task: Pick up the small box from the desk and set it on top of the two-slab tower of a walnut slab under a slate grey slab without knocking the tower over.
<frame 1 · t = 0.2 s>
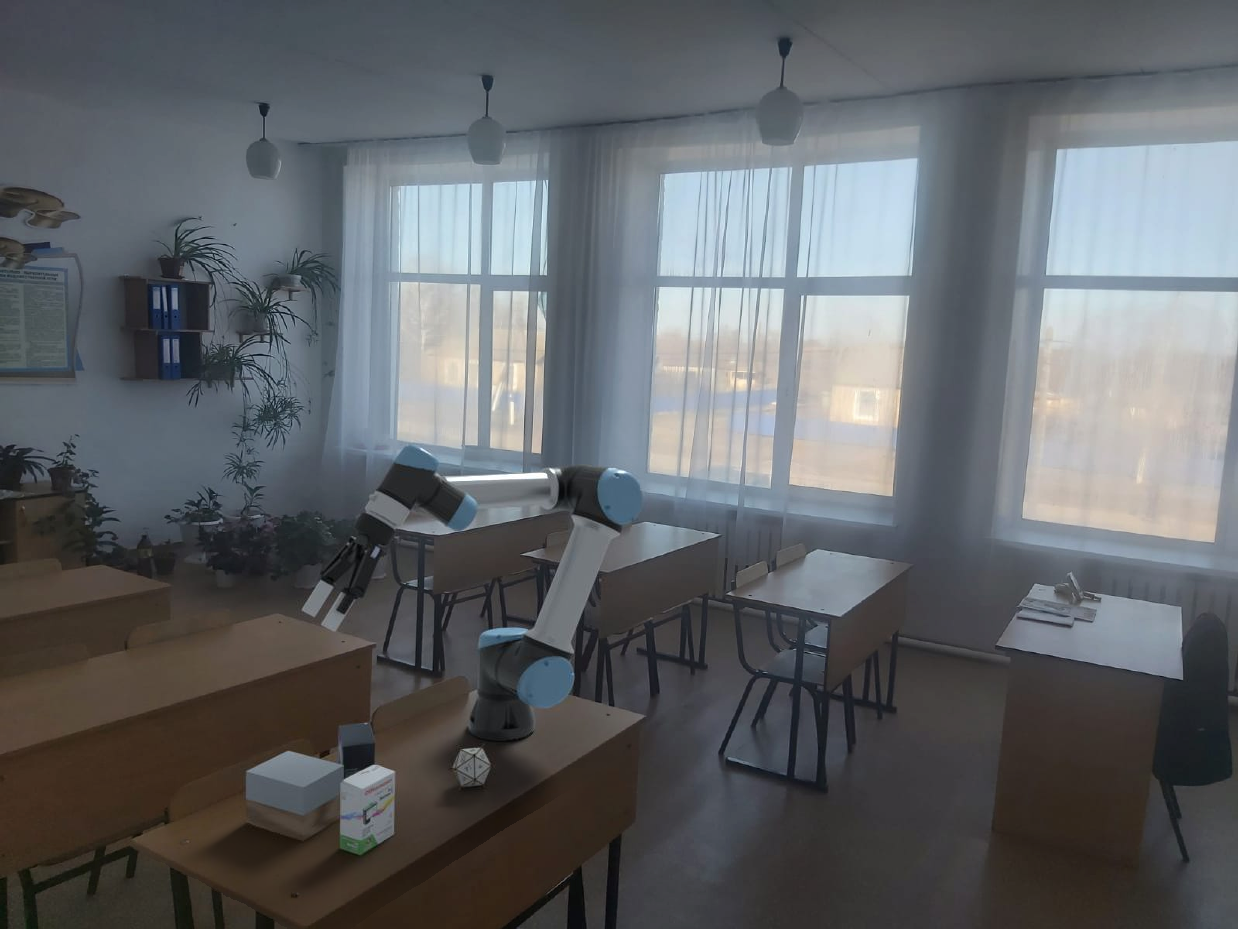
hand: (317, 621, 162), 35 cm above the table, tool tilted 35°, fingers open, 13 cm apart
walnut slab: (295, 821, 159), on the table, touching grey slab
game die: (471, 787, 175), on the table
grey slab: (295, 795, 159), point 5 cm above the table, touching walnut slab
ink box: (367, 842, 153), on the table
small box: (355, 785, 174), on the table
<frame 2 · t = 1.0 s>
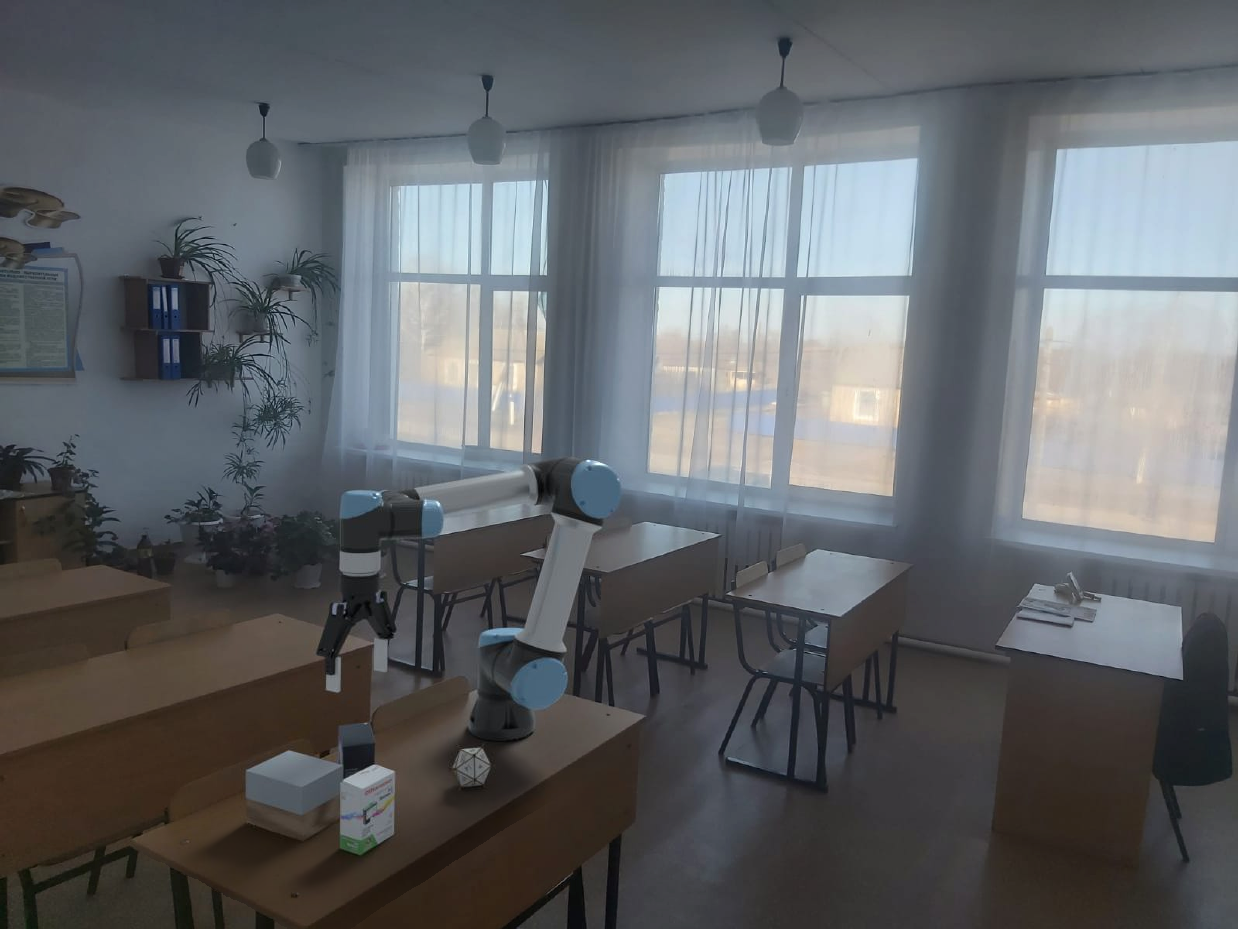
hand: (357, 680, 172), 21 cm above the table, tool pointing down, fingers open, 13 cm apart
nothing on the table moved.
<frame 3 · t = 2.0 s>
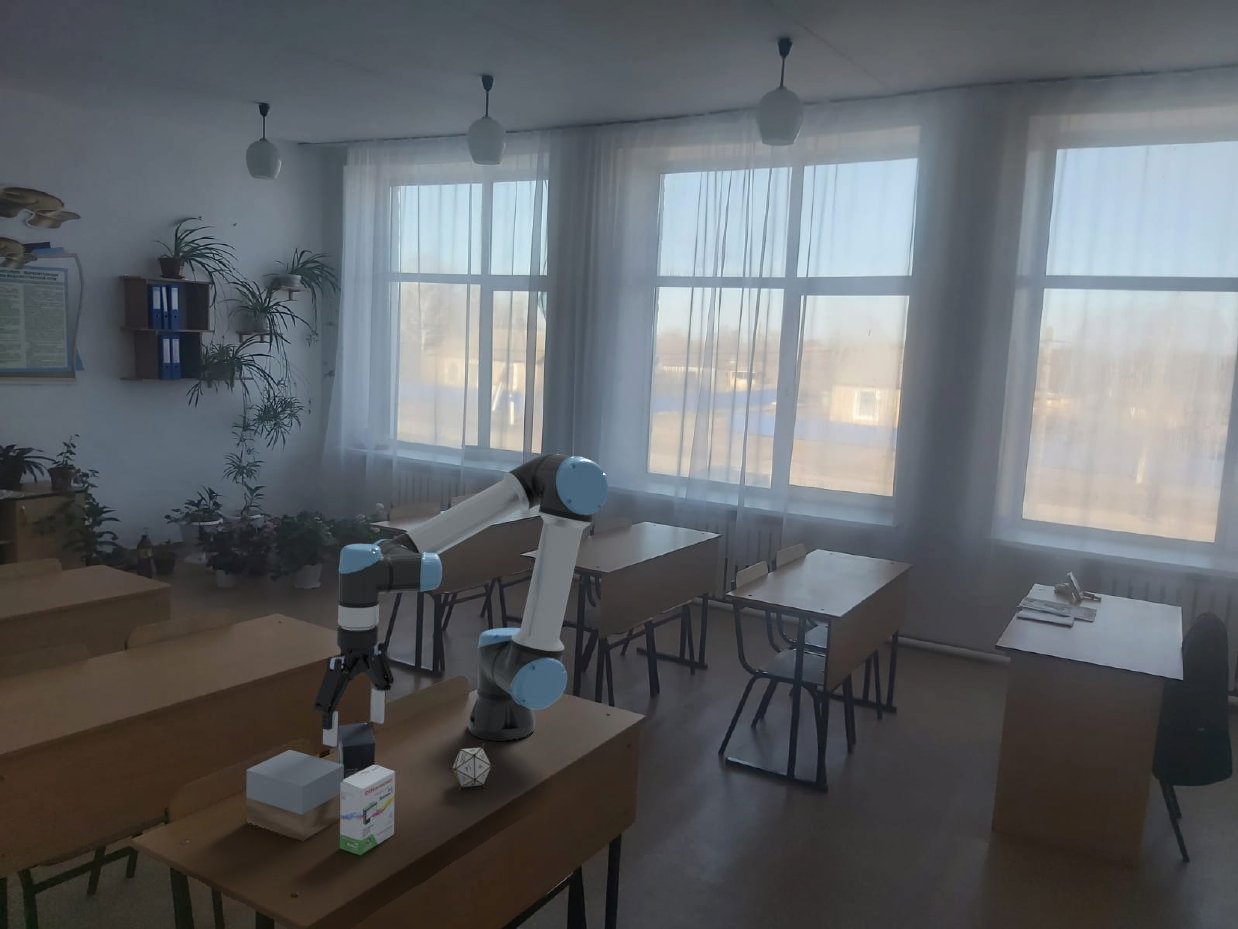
hand: (354, 733, 173), 10 cm above the table, tool pointing down, fingers open, 13 cm apart
nothing on the table moved.
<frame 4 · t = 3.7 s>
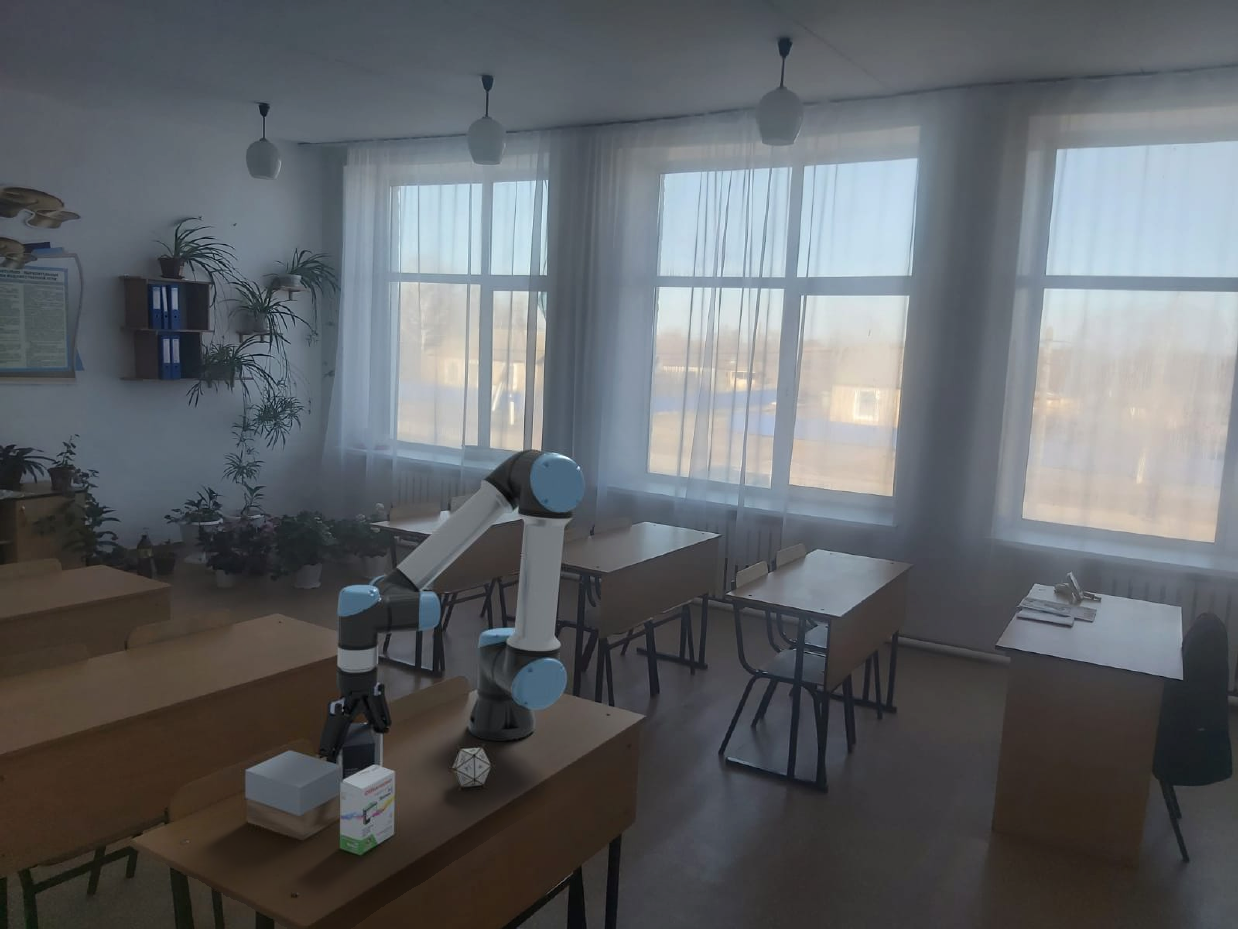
hand: (355, 776, 174), 2 cm above the table, tool pointing down, fingers closed on small box, 11 cm apart
small box: (355, 785, 174), on the table, touching gripper
everything else where it was.
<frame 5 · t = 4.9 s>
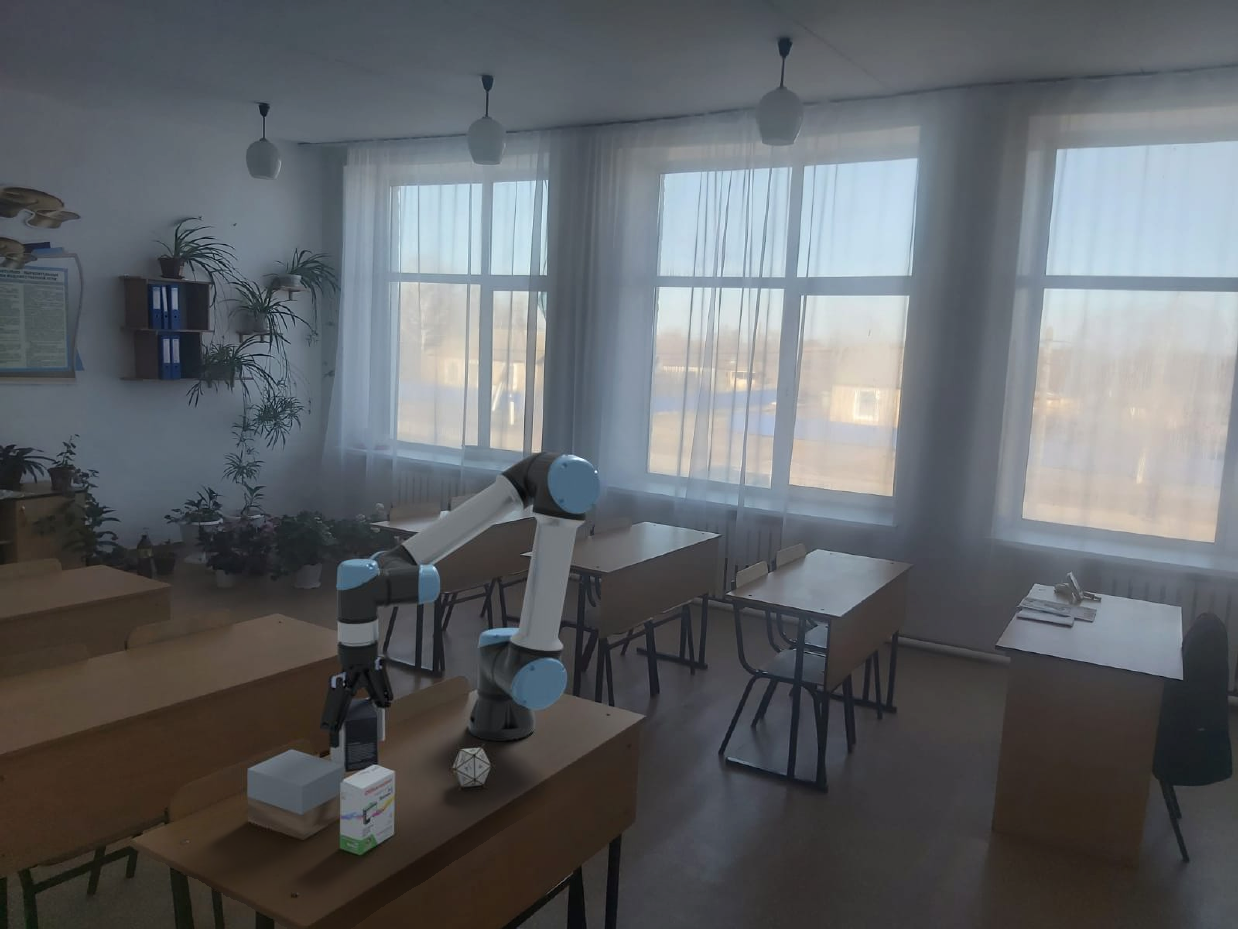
hand: (358, 750, 174), 7 cm above the table, tool pointing down, fingers closed on small box, 11 cm apart
small box: (358, 760, 174), point 5 cm above the table, touching gripper
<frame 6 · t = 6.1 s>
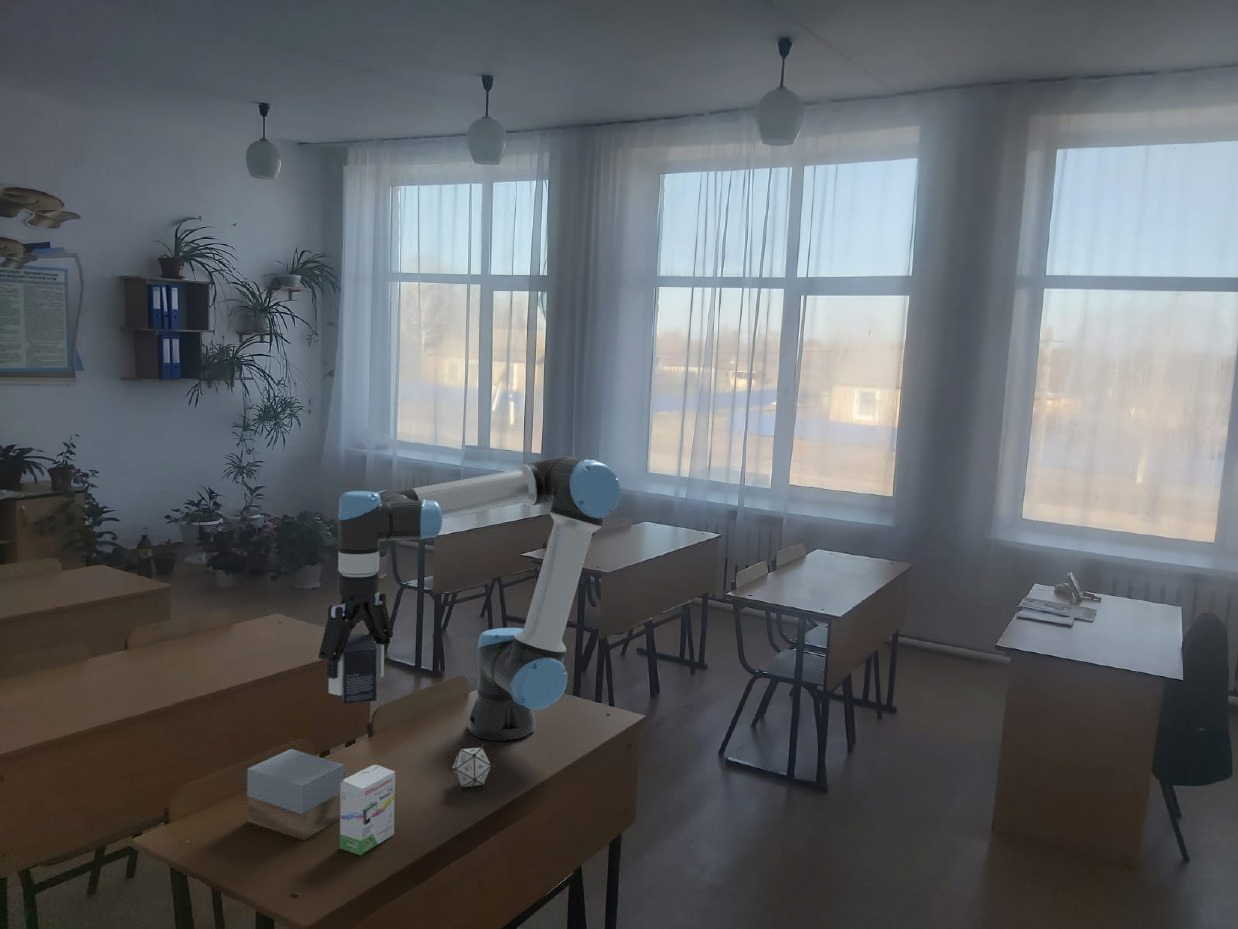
hand: (356, 684, 172), 20 cm above the table, tool pointing down, fingers closed on small box, 11 cm apart
small box: (356, 694, 172), point 18 cm above the table, touching gripper
everything else where it was.
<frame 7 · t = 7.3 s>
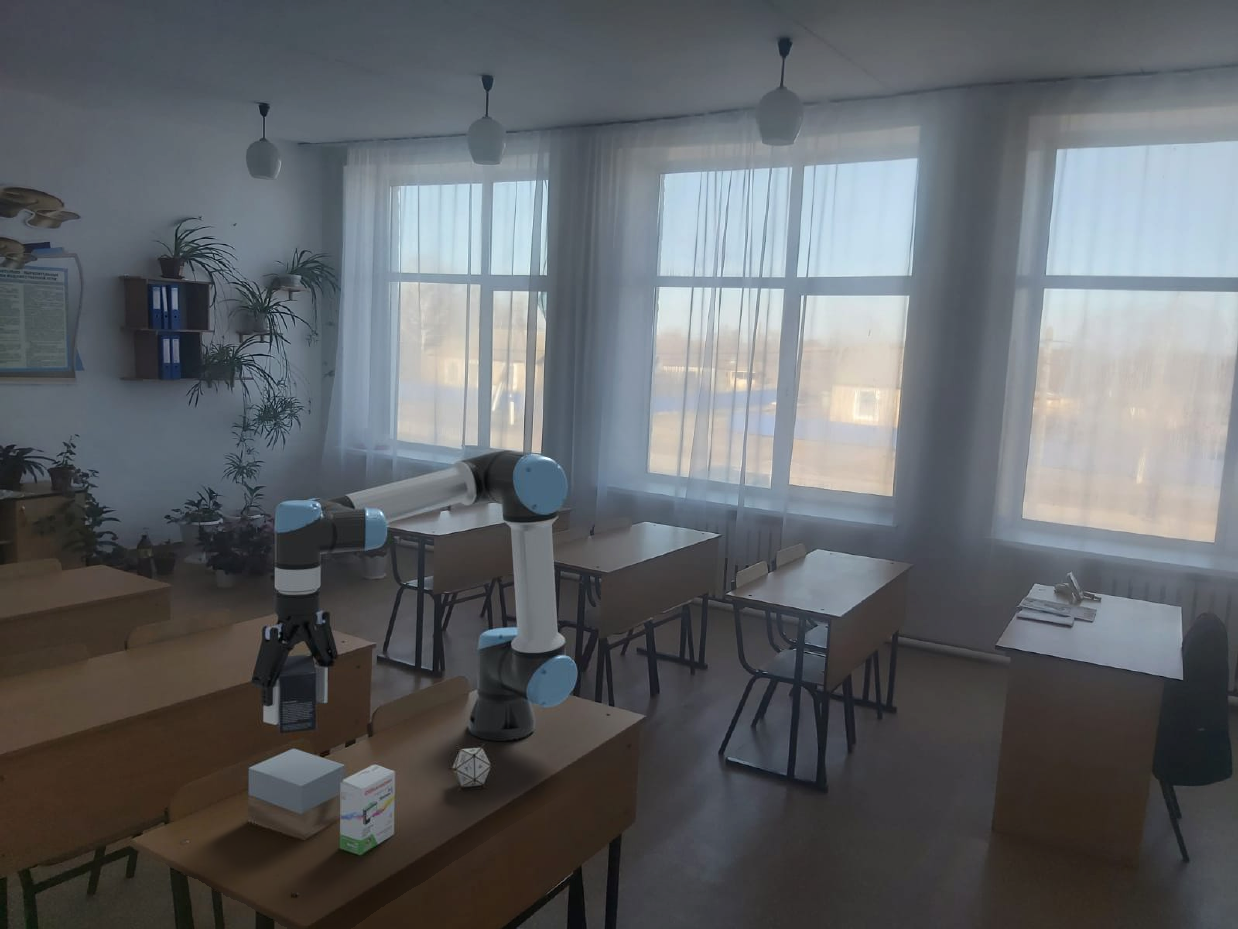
hand: (296, 711, 158), 20 cm above the table, tool pointing down, fingers closed on small box, 11 cm apart
small box: (296, 722, 158), point 18 cm above the table, touching gripper
everything else where it was.
when the fingers open (13 cm above the table, at t = 9.7 s): small box drops 1 cm, resting on grey slab.
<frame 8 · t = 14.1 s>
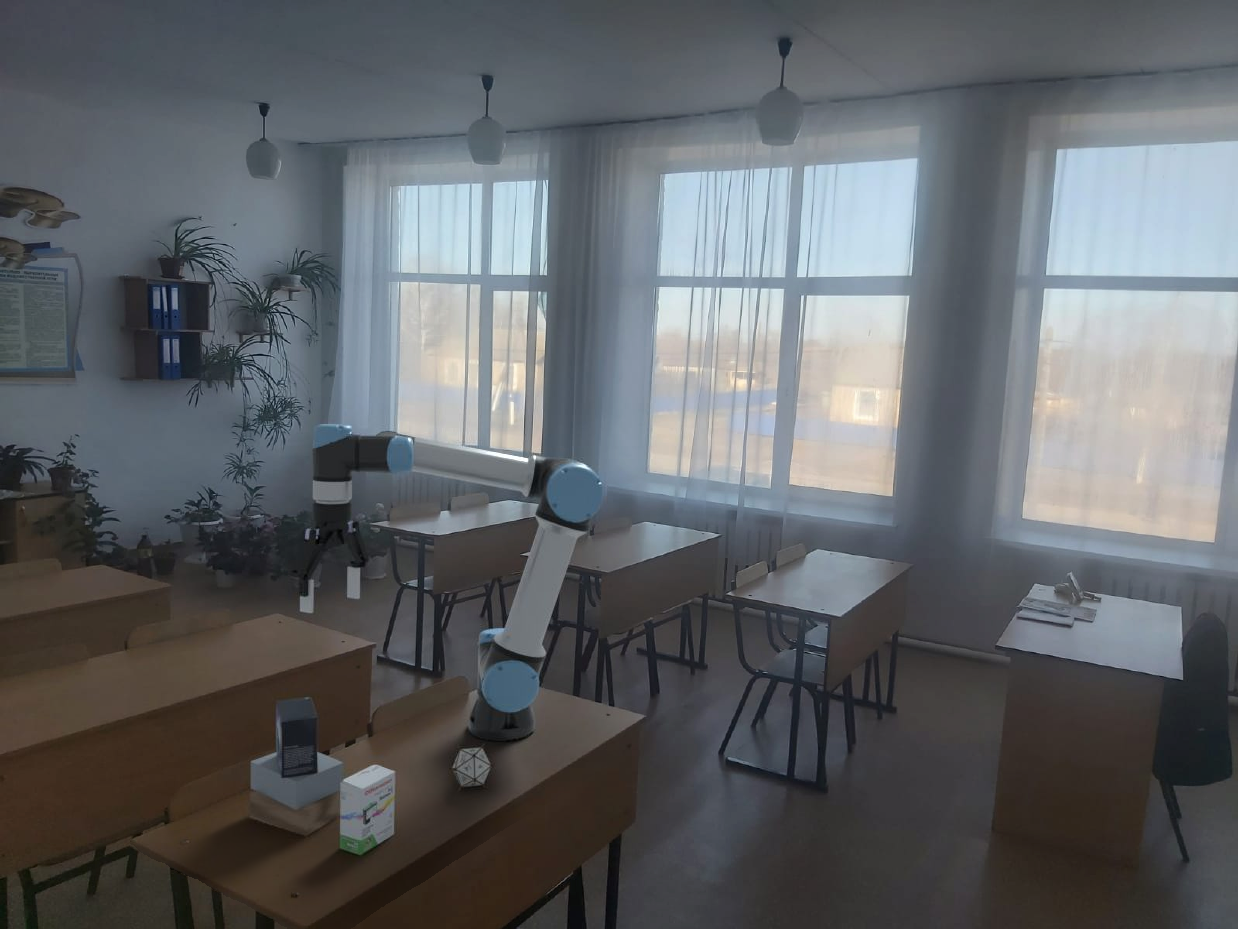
hand: (330, 604, 181), 33 cm above the table, tool pointing down, fingers open, 13 cm apart
walnut slab: (298, 817, 161), on the table, touching grey slab
grey slab: (297, 788, 161), point 5 cm above the table, touching small box, walnut slab
small box: (296, 765, 160), point 9 cm above the table, touching grey slab
everything else where it was.
at the end: small box inside the target area on the grey slab (0.9 cm from its centre), point 4.8 cm above the grey slab's base; grey slab 0.7 cm off-centre on the walnut slab, point 5.0 cm above the walnut slab's base; small box tilted 0° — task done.
